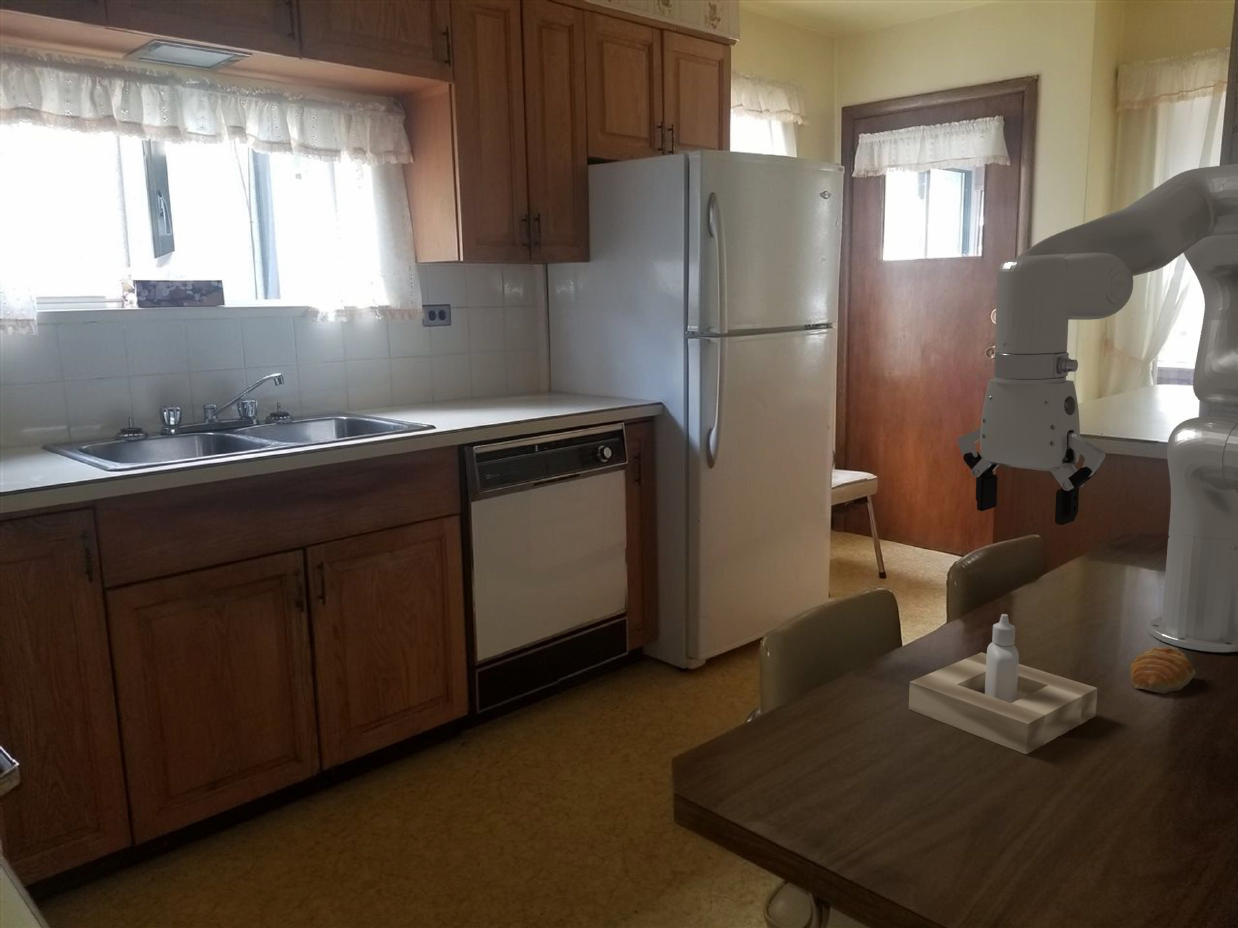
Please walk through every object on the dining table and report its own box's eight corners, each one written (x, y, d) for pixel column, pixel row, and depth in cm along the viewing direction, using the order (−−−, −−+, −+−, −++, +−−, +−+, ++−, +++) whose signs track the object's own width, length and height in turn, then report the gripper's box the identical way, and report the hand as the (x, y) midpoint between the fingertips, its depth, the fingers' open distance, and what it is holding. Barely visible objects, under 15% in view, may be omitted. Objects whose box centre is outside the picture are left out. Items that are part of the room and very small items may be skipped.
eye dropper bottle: (1027, 708, 114) (1032, 612, 112) (1009, 724, 110) (1014, 625, 108) (990, 699, 117) (995, 605, 115) (972, 714, 113) (976, 617, 111)
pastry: (1177, 702, 116) (1179, 673, 115) (1117, 688, 120) (1118, 659, 120) (1196, 679, 123) (1198, 651, 122) (1138, 667, 127) (1140, 639, 127)
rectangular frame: (980, 677, 124) (981, 652, 123) (1095, 716, 112) (1097, 687, 112) (908, 709, 115) (909, 681, 114) (1026, 754, 103) (1027, 723, 103)
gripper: (1124, 368, 103) (1115, 522, 107) (979, 362, 117) (976, 499, 120) (1089, 374, 99) (1081, 535, 102) (943, 368, 113) (940, 509, 116)
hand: (1024, 515), depth 111 cm, fingers open, 9 cm apart
